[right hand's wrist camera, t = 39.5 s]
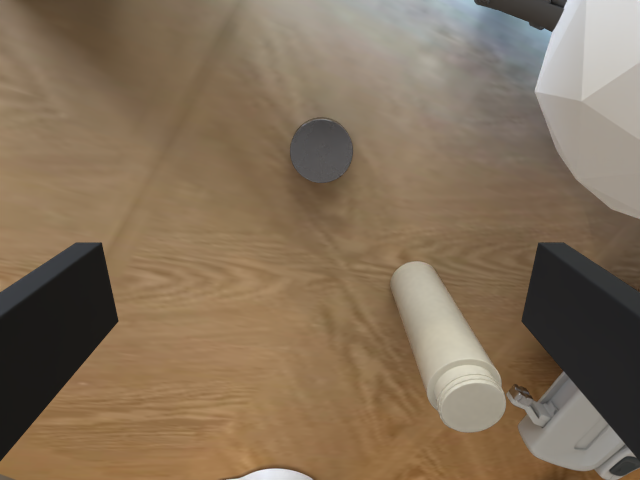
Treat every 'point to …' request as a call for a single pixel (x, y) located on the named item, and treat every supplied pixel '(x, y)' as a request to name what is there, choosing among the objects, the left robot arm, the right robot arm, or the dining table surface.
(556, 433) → the left robot arm
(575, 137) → the sphere
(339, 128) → the lid
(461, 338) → the bottle
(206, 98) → the dining table surface
